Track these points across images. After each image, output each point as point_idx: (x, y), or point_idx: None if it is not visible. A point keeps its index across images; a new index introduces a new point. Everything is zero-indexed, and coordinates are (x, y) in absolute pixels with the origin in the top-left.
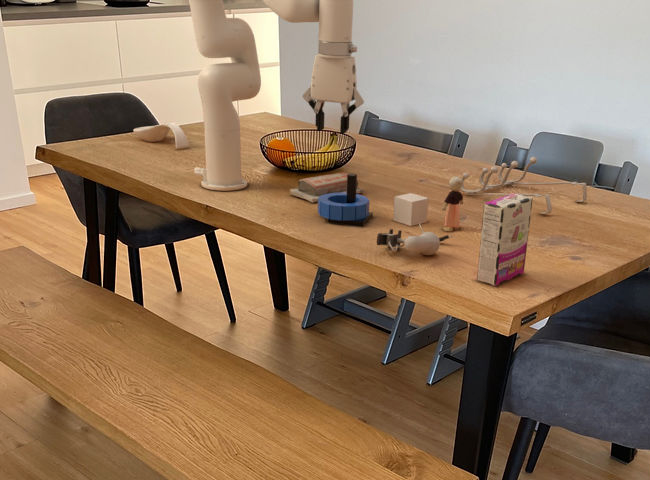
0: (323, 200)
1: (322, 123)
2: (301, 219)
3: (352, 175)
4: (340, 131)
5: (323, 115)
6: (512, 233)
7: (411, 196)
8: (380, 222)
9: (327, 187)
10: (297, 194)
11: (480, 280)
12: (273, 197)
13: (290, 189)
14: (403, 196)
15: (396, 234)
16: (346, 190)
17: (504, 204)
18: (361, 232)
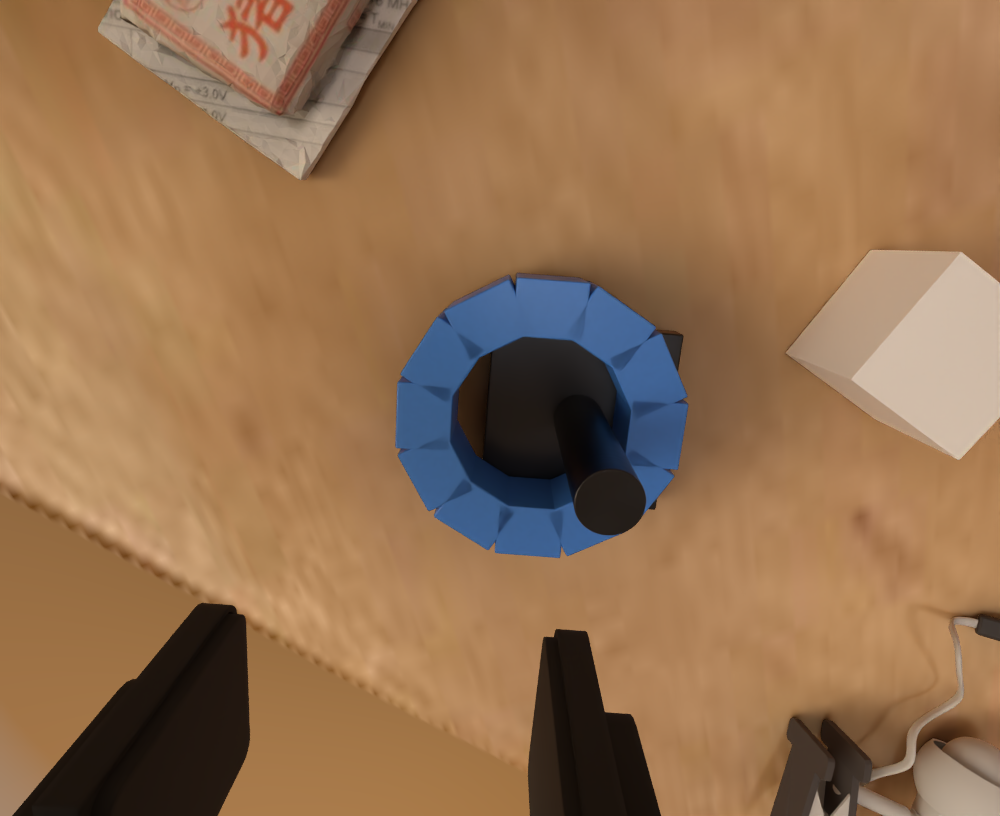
0: (439, 488)
1: (209, 734)
2: (353, 477)
3: (618, 528)
4: (531, 786)
5: (139, 805)
6: None
7: (959, 340)
8: (724, 405)
9: (339, 27)
10: (176, 87)
11: None
12: (56, 126)
13: (101, 32)
14: (907, 358)
15: (850, 807)
16: None
17: None
18: (656, 573)
